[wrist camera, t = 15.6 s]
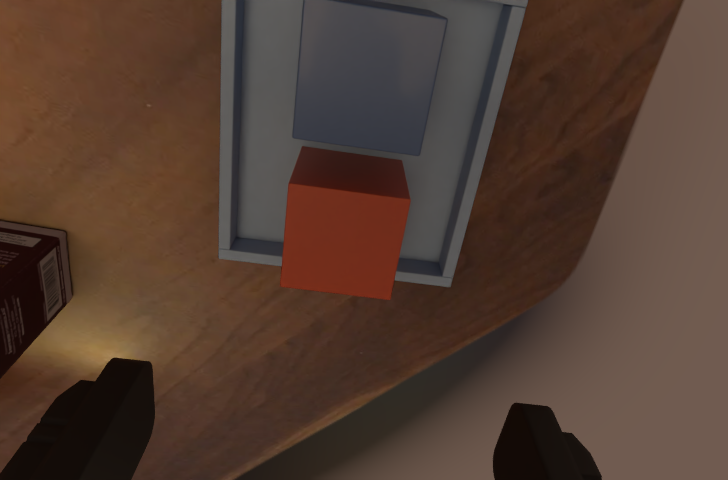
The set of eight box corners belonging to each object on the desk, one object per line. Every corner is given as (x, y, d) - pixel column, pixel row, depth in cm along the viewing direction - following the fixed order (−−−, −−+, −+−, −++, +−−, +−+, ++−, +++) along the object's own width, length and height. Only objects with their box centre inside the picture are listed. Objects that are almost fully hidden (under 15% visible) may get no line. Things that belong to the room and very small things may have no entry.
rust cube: (301, 145, 24) (288, 183, 20) (402, 159, 25) (411, 199, 20) (293, 235, 27) (279, 287, 22) (385, 247, 27) (390, 300, 22)
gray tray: (235, -57, 21) (221, -61, 19) (515, -10, 22) (531, -9, 20) (228, 238, 28) (217, 258, 25) (444, 265, 28) (450, 287, 26)
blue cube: (315, -9, 21) (303, -6, 17) (431, 10, 21) (448, 18, 17) (304, 108, 23) (291, 139, 19) (409, 123, 24) (420, 157, 19)
